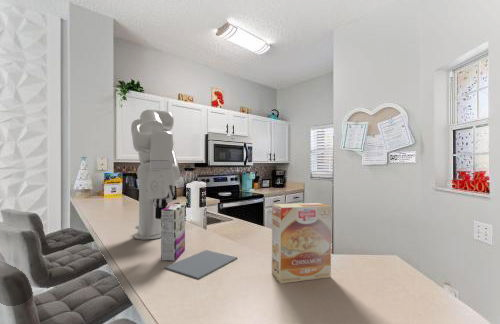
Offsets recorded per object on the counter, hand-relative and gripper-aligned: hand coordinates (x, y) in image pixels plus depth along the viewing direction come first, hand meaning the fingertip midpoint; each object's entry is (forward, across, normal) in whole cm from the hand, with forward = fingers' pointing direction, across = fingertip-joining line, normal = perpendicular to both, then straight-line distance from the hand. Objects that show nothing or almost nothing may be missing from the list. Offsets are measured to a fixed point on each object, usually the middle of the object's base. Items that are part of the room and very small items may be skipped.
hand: (160, 218), depth 88 cm
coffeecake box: (+12, +48, +8) cm, 51 cm away
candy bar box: (+12, +6, 0) cm, 14 cm away
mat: (+12, +20, 0) cm, 23 cm away
